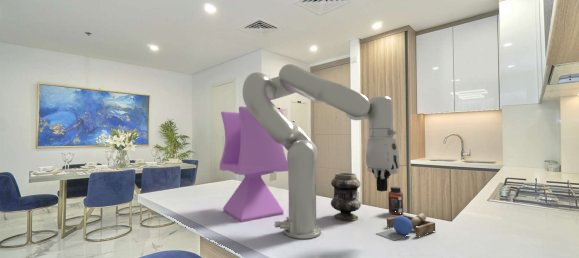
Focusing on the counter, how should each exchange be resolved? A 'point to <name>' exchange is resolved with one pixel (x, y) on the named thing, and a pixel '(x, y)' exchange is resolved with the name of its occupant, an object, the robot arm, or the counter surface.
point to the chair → (251, 166)
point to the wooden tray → (422, 227)
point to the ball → (402, 225)
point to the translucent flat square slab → (391, 234)
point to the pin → (418, 219)
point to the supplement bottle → (395, 201)
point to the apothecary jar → (345, 196)
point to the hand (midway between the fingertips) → (382, 190)
